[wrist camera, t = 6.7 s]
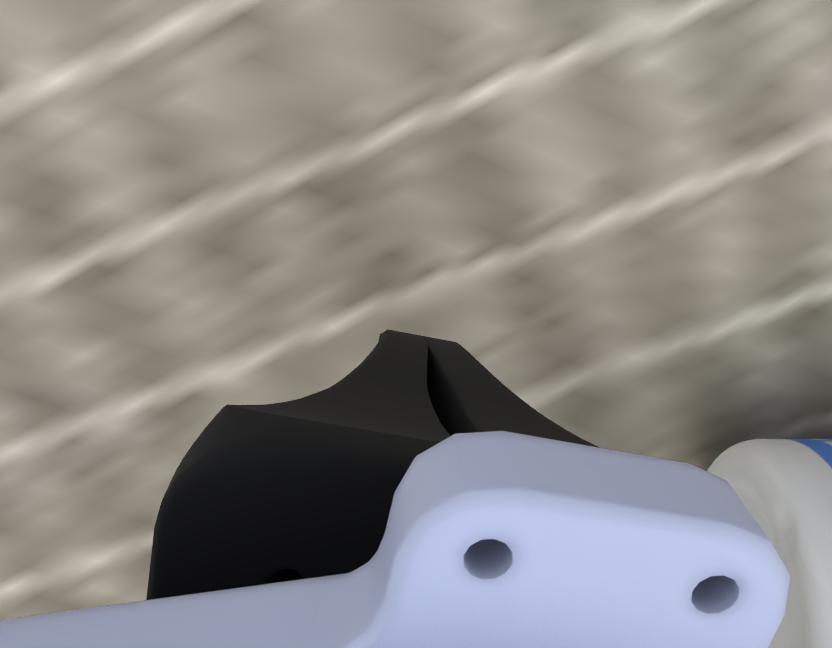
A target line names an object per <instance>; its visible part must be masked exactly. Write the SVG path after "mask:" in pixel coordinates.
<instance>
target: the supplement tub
mask: <svg viewBox="0 0 832 648" xmlns="http://www.w3.org/2000/svg"><path fill="white" fill-rule="evenodd" d="M707 472H709V473H711V474H714V475H716V476H718V477H720V478H722V479H725V480H727V481H728V483H729V484H730V485H731V487H732V488H733V490H734V491H735V492H736V494H737V495H738V497H739V498H740V499H741V501H742V502H743V504H744V505H745V506H746V508H747V509H748V510H749V512H750V513H751V515H752V516H753V517H754V519H755V520H756V522H757V523H758V524H759V526H760V527H761V529H762V530H763V531H764V533H765V534H766V536H767V537H768V538H769V540H770V541H771V543H772V544H773V546H774V548H775V550H776V551H777V553H778V555H779V557H780V558H781V560H782V562H783V564H784V565H785V567H786V569H787V571H788V572H789V574H790V576H791V577H790V583H789V589H788V595H787V601H786V608H785V614H784V617H783V619H782V621H781V623H780V625H779V627H778V629H777V631H776V633H775V635H774V637H773V639H772V641H771V643H770V645H769V647H768V648H832V439H753V440H747V441H743V442H740V443H737V444H735V445H733V446H731V447H729V448H728V449H726V450H725V451H724V452H722V453H721V454H720V455H719V456H718V457H717V458H716V459H715V460H714V462H713V463H712V464H711V465H710V467H709V468H708V469H707Z"/></svg>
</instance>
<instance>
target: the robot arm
mask: <svg viewBox="0 0 832 648" xmlns="http://www.w3.org/2000/svg"><path fill="white" fill-rule="evenodd" d="M790 577H791V576H790V574H789V572H788V571H787V569H786V567H785V565H784V564H783V562H782V560H781V558H780V557H779V555H778V553H777V551H776V550H775V548H774V546H773V544H772V543H771V541H770V540H769V538H768V537H767V536H766V534H765V533H764V531H763V530H762V529H761V527H760V526H759V524H758V523H757V522H756V520H755V519H754V517H753V516H752V515H751V513H750V512H749V510H748V509H747V508H746V506H745V505H744V504H743V502H742V501H741V499H740V498H739V497H738V495H737V494H736V492H735V491H734V490H733V488H732V487H731V485H730V484H729V483H728V481H727V480H725V479H722V478H720V477H718V476H716V475H714V474H711V473H709V472H707V471H705V470H703V469H701V468H698V467H696V466H694V465H692V464H690V463H684V462H678V461H672V460H667V459H661V458H655V457H649V456H644V455H638V454H632V453H627V452H621V451H615V450H609V449H604V448H599V447H597V446H595V445H593V444H591V443H589V442H587V441H585V440H583V439H581V438H579V437H578V436H576V435H574V434H572V433H570V432H568V431H567V430H565V429H564V428H562V427H560V426H559V425H557V424H556V423H554V422H552V421H551V420H549V419H548V418H546V417H544V416H543V415H542V414H540V413H539V412H537V411H536V410H534V409H533V408H532V407H530V406H529V405H528V404H527V403H525V402H524V401H523V400H521V399H520V398H519V397H518V396H516V395H515V394H514V393H513V392H511V391H510V390H509V389H508V388H507V387H506V386H504V385H503V384H502V383H501V382H500V381H499V380H498V379H497V378H495V377H494V376H493V375H492V374H491V373H490V372H489V371H488V370H487V369H486V368H485V367H484V366H483V365H482V364H480V363H479V362H478V361H477V360H476V359H475V358H474V357H473V356H472V355H471V354H470V353H469V352H468V351H467V350H465V349H464V348H463V347H462V346H461V345H459V344H458V343H456V342H452V341H447V340H441V339H436V338H430V337H425V336H420V335H414V334H409V333H404V332H398V331H393V330H386V331H385V332H383V333H382V334H380V337H379V342H378V344H377V345H376V346H375V348H374V349H373V351H372V352H371V353H370V354H369V355H368V356H367V357H366V359H365V360H364V361H363V362H362V363H361V364H360V365H359V366H358V367H357V368H355V369H354V370H353V371H352V372H351V373H350V374H348V375H347V376H346V377H345V378H343V379H342V380H341V381H339V382H338V383H336V384H335V385H333V386H332V387H330V388H328V389H326V390H323V391H320V392H318V393H315V394H312V395H309V396H307V397H304V398H301V399H297V400H292V401H288V402H282V403H275V404H267V405H226V406H225V407H223V408H222V409H221V411H220V412H219V413H218V414H217V415H216V416H215V417H214V419H213V420H212V421H211V422H210V423H209V424H208V426H207V427H206V428H205V429H204V430H203V432H202V433H201V434H200V436H199V437H198V438H197V440H196V441H195V442H194V444H193V445H192V446H191V448H190V449H189V451H188V452H187V454H186V455H185V457H184V458H183V460H182V461H181V463H180V465H179V467H178V468H177V470H176V472H175V474H174V476H173V478H172V480H171V482H170V485H169V487H168V489H167V491H166V493H165V495H164V498H163V500H162V502H161V506H160V510H159V513H158V517H157V520H156V524H155V528H154V537H153V546H152V555H151V564H150V573H149V582H148V591H147V600H144V601H137V602H129V603H122V604H114V605H107V606H100V607H92V608H85V609H77V610H70V611H62V612H55V613H48V614H40V615H33V616H25V617H18V618H10V619H3V620H0V648H768V647H769V645H770V643H771V641H772V639H773V637H774V635H775V633H776V631H777V629H778V627H779V625H780V623H781V621H782V619H783V617H784V614H785V608H786V601H787V595H788V589H789V583H790Z"/></svg>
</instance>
